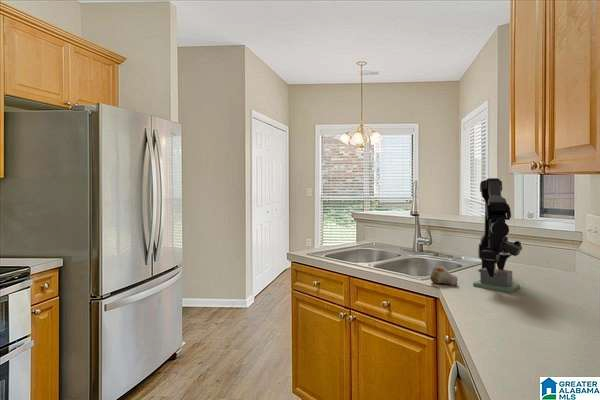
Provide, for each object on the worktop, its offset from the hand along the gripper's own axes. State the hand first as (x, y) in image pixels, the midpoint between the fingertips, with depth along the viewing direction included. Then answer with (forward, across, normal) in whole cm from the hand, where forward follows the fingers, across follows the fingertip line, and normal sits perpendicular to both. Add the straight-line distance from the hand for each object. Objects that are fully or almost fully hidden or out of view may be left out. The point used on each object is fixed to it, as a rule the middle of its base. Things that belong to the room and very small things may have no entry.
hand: (496, 274), depth 175 cm
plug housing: (+3, 0, 0) cm, 3 cm away
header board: (+5, 0, 0) cm, 5 cm away
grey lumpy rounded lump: (+5, -8, +17) cm, 19 cm away
